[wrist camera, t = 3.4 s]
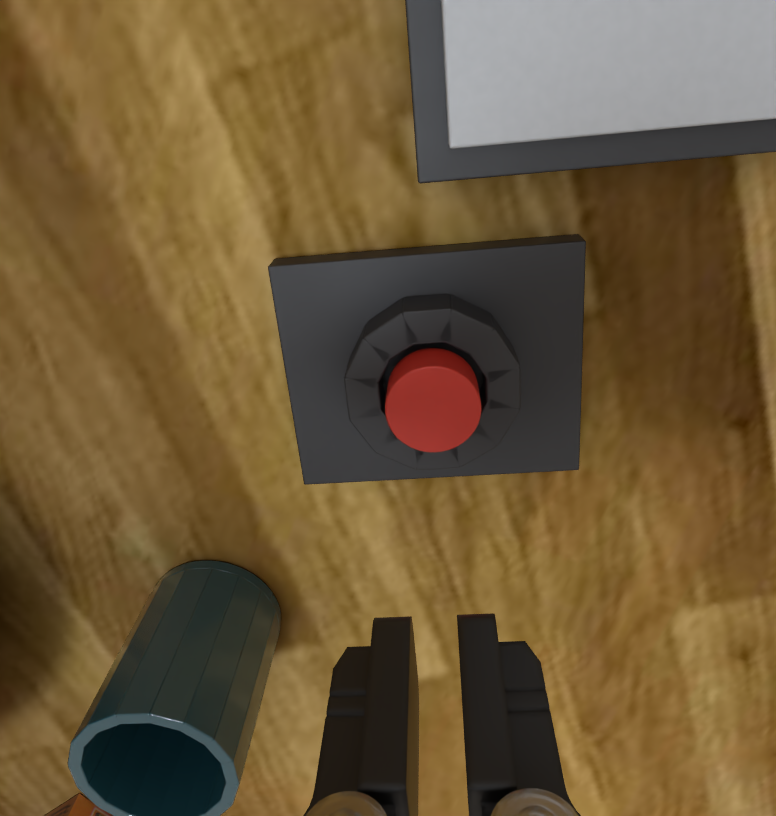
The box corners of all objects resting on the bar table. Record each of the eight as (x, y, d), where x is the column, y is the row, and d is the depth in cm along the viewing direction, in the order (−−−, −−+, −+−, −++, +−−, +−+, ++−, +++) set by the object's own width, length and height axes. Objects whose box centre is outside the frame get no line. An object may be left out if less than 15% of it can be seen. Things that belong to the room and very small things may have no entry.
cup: (269, 556, 31) (219, 712, 24) (290, 659, 34) (251, 828, 26) (137, 562, 32) (46, 716, 24) (168, 663, 34) (94, 830, 27)
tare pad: (579, 233, 24) (598, 253, 22) (573, 455, 28) (588, 495, 26) (274, 258, 25) (256, 279, 23) (308, 470, 29) (296, 509, 26)
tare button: (476, 344, 24) (480, 362, 22) (479, 427, 25) (483, 450, 23) (383, 350, 24) (380, 369, 22) (391, 432, 25) (389, 455, 24)
